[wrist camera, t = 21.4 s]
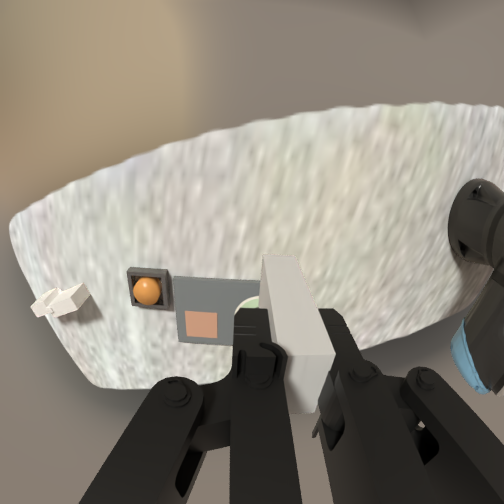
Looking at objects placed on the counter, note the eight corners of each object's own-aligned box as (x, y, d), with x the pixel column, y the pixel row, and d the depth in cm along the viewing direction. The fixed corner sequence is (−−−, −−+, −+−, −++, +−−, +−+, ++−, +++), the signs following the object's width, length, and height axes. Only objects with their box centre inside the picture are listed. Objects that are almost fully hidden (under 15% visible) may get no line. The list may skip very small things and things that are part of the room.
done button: (161, 275, 40) (157, 282, 38) (163, 297, 41) (159, 306, 39) (136, 273, 40) (131, 280, 38) (139, 295, 41) (135, 303, 39)
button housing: (167, 269, 40) (164, 274, 38) (170, 304, 42) (167, 309, 40) (130, 266, 39) (126, 271, 38) (134, 300, 42) (131, 305, 40)
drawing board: (296, 282, 41) (297, 285, 40) (286, 343, 45) (286, 347, 45) (174, 276, 40) (172, 279, 39) (179, 338, 45) (178, 342, 44)
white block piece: (99, 276, 40) (83, 294, 35) (97, 328, 44) (85, 347, 39) (33, 250, 38) (15, 264, 33) (37, 301, 42) (22, 316, 37)
